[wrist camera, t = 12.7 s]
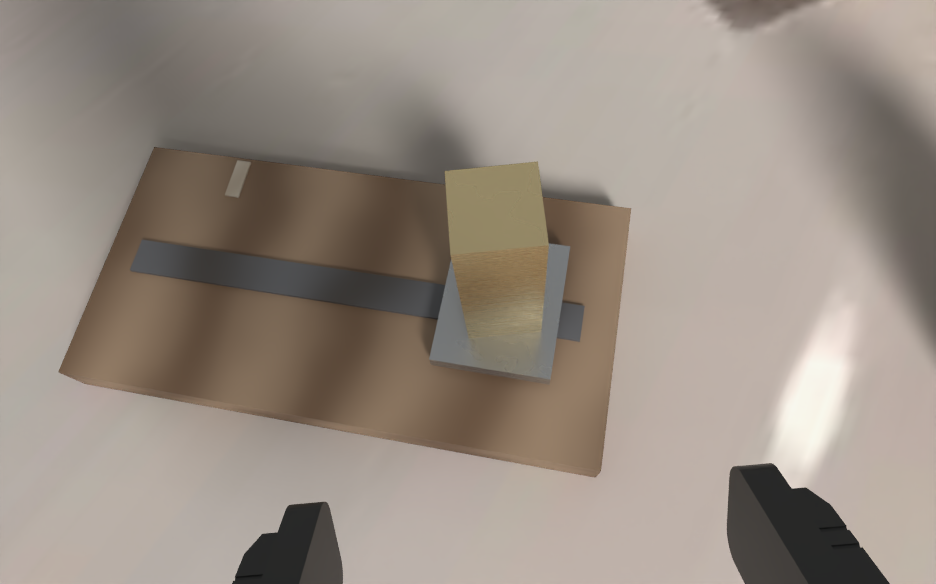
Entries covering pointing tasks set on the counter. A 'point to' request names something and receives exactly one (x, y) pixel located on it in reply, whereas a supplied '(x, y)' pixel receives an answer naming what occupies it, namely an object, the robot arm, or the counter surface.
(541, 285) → the fader lever
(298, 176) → the fader board
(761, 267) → the counter surface
